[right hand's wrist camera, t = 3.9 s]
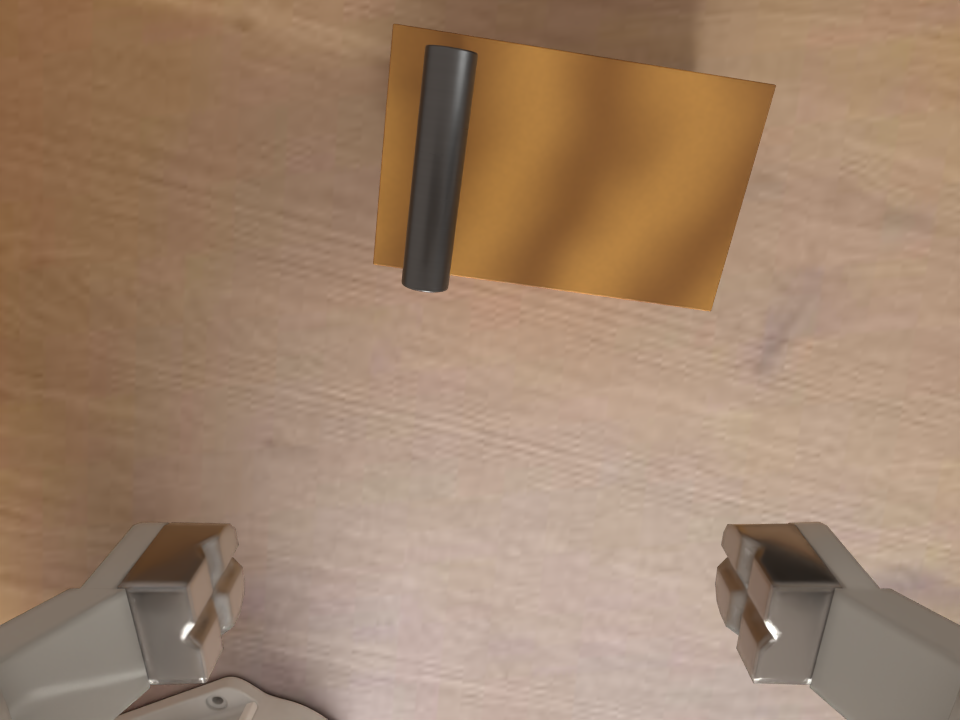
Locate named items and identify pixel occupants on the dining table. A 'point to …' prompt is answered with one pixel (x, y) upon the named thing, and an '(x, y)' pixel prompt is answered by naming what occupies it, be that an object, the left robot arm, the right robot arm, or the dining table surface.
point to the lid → (561, 169)
